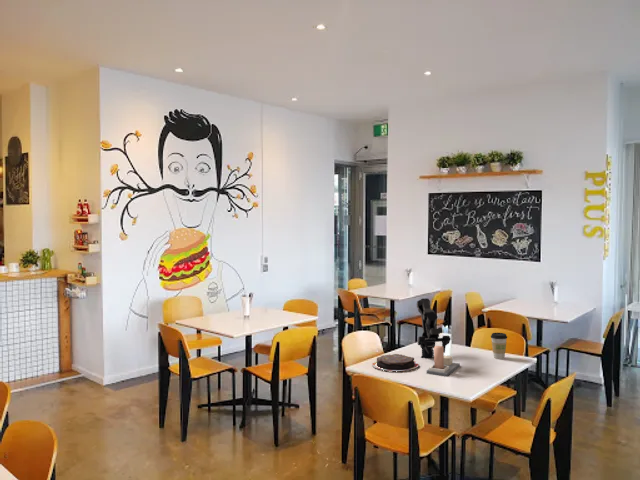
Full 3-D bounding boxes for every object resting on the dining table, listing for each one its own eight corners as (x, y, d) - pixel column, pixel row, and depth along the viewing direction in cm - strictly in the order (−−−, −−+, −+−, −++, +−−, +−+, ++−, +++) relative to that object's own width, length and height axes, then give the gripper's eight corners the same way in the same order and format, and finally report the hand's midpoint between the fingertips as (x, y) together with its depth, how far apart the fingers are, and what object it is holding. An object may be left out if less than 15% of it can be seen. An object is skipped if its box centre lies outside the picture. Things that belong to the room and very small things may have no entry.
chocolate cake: (383, 358, 334) (383, 347, 334) (425, 363, 320) (425, 352, 320) (364, 369, 310) (363, 358, 310) (408, 375, 296) (408, 364, 296)
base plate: (426, 373, 298) (426, 363, 298) (440, 363, 318) (440, 354, 317) (447, 376, 292) (446, 366, 292) (459, 365, 311) (459, 356, 311)
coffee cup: (504, 361, 319) (504, 336, 319) (488, 358, 325) (488, 334, 325) (509, 357, 327) (509, 333, 326) (494, 355, 333) (493, 331, 332)
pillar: (433, 368, 302) (433, 346, 302) (442, 368, 303) (442, 345, 302) (435, 370, 297) (435, 348, 297) (444, 370, 297) (444, 347, 297)
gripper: (418, 323, 308) (422, 346, 298) (449, 322, 309) (455, 345, 299) (415, 333, 317) (419, 356, 306) (445, 332, 318) (451, 355, 307)
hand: (436, 352), depth 304 cm, fingers open, 9 cm apart
